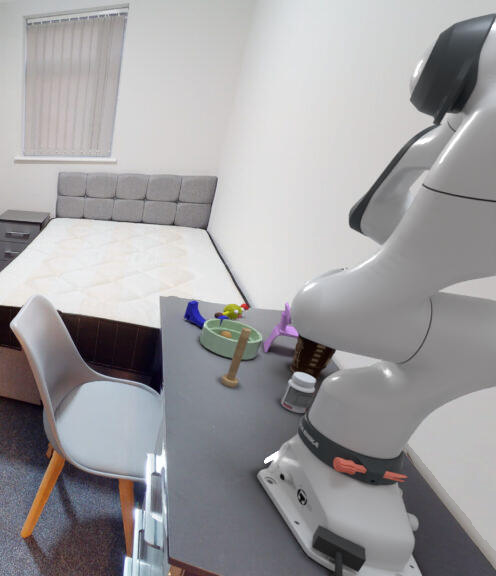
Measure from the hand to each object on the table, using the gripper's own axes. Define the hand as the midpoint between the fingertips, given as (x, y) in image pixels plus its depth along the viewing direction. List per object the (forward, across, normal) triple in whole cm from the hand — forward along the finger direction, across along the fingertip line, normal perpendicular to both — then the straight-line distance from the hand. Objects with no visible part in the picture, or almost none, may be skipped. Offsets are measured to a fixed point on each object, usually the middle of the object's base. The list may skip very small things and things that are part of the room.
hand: (310, 317), depth 85 cm
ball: (+16, -22, +10) cm, 29 cm away
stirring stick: (+23, 0, +6) cm, 24 cm away
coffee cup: (+7, -9, +22) cm, 25 cm away
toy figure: (+13, -37, +16) cm, 42 cm away
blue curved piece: (+19, -32, +9) cm, 38 cm away
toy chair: (+7, -20, +22) cm, 30 cm away
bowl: (+18, -19, +11) cm, 28 cm away
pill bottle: (+15, +7, +13) cm, 22 cm away
